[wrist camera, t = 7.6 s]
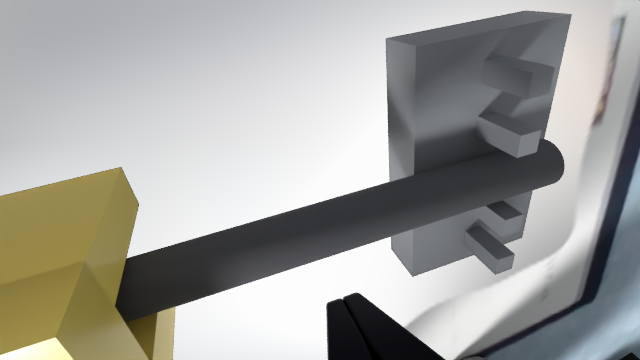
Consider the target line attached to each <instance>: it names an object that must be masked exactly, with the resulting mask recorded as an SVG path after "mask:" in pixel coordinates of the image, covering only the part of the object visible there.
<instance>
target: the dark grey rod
mask: <svg viewBox="0 0 640 360" xmlns="http://www.w3.org/2000/svg"><path fill="white" fill-rule="evenodd" d="M563 172H564V160H563V156H562V154H561V152H560V151H559V149H558V148H557V147H556V146H555V145H554V144H553V143H551V142H550V141H548V140H545V139H539V144H538V149H537V152H536V153H532V154H529V155H526V156H522V157H519V158H516V157H514V156H512V155H510V154H508V153H506V152H504V151H502V150H498V151H494V152H491V153H488V154H484V155H481V156H477V157H474V158H470V159H467V160H463V161H460V162H457V163H453V164H450V165H446V166H443V167H439V168H436V169H433V170H429V171H426V172H422V173H419V174H415V175H412V176H408V177H405V178H402V179H398V180H395V181H391V182H388V183H384V184H381V185H378V186H374V187H371V188H367V189H364V190H361V191H357V192H354V193H350V194H347V195H343V196H340V197H336V198H333V199H329V200H326V201H323V202H319V203H316V204H312V205H309V206H306V207H302V208H299V209H295V210H292V211H289V212H285V213H281V214H278V215H275V216H271V217H268V218H264V219H261V220H257V221H254V222H251V223H247V224H244V225H241V226H237V227H233V228H230V229H226V230H223V231H219V232H216V233H213V234H209V235H206V236H202V237H199V238H195V239H192V240H188V241H185V242H182V243H178V244H175V245H171V246H168V247H164V248H161V249H158V250H154V251H151V252H147V253H144V254H141V255H137V256H133V257H130V258H127V259H126V261H125V266H124V270H123V274H122V278H121V282H120V287H119V291H118V295H117V299H116V303H115V308H116V309H117V311H118V312H119V314H120V315H121V317H122V318H123V320H124V322H125V323H127V322H130V321H133V320H136V319H139V318H142V317H145V316H148V315H151V314H154V313H157V312H160V311H163V310H167V309H170V308H173V307H176V306H179V305H182V304H185V303H188V302H191V301H194V300H197V299H200V298H203V297H206V296H209V295H213V294H215V293H218V292H222V291H225V290H228V289H231V288H234V287H237V286H240V285H243V284H246V283H249V282H252V281H255V280H258V279H262V278H265V277H268V276H271V275H274V274H277V273H280V272H283V271H286V270H289V269H292V268H295V267H298V266H301V265H305V264H308V263H311V262H314V261H316V260H320V259H323V258H326V257H329V256H332V255H335V254H338V253H341V252H344V251H348V250H351V249H354V248H357V247H360V246H363V245H366V244H369V243H372V242H375V241H378V240H381V239H384V238H387V237H391V236H394V235H397V234H400V233H403V232H406V231H409V230H412V229H415V228H418V227H421V226H424V225H427V224H430V223H434V222H437V221H440V220H443V219H446V218H449V217H452V216H455V215H458V214H461V213H464V212H467V211H470V210H473V209H476V208H480V207H483V206H486V205H489V204H492V203H495V202H498V201H501V200H504V199H507V198H510V197H513V196H516V195H519V194H523V193H526V192H529V191H532V190H535V189H538V188H541V187H544V186H547V185H550V184H553V183H556V182H557V181H558V180H560V178H561V177H562V175H563Z"/></svg>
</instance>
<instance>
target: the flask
mask: <svg viewBox="0 0 640 360" xmlns="http://www.w3.org/2000/svg"><path fill="white" fill-rule="evenodd" d="M462 360H487V358H482V357H477V356H473V357H468V358H464V359H462Z"/></svg>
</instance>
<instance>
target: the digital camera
mask: <svg viewBox="0 0 640 360" xmlns="http://www.w3.org/2000/svg"><path fill="white" fill-rule="evenodd" d="M621 360H640V359H639V358H638V357H636V356H635V355H634V354H633V353H630V354H629V355H627V356H625V357H624V358H622V359H621Z"/></svg>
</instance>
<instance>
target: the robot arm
mask: <svg viewBox="0 0 640 360" xmlns="http://www.w3.org/2000/svg"><path fill="white" fill-rule="evenodd" d="M326 309H327V343H328V360H445V359H444V358H443V357H441V356H440V355H439V354H437V353H436V352H435V351H434V350H432V349H431V348H430V347H428V346H427V345H426V344H424V343H423V342H422V341H421V340H419V339H418V338H417V337H415V336H414V335H413V334H411V333H410V332H409V331H408V330H406V329H405V328H404V327H402V326H401V325H400V324H398V323H397V322H396V321H395V320H393V319H392V318H391V317H389V316H388V315H387V314H385V313H384V312H383V311H382V310H380V309H379V308H378V307H376V306H375V305H374V304H372V303H371V302H369V300H367V299H366V298H365V297H363V296H362V295H361V294H359V293H353V294H351V295H348V296H345V297H344V298H343V300H342V299H337V300H334V301H331V302H328V303H327V307H326Z"/></svg>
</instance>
